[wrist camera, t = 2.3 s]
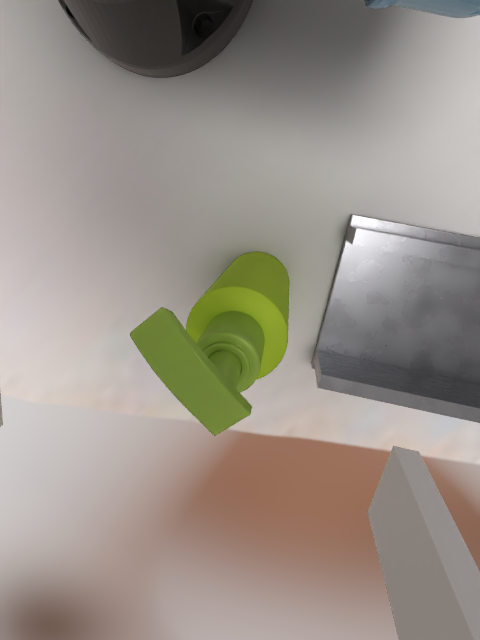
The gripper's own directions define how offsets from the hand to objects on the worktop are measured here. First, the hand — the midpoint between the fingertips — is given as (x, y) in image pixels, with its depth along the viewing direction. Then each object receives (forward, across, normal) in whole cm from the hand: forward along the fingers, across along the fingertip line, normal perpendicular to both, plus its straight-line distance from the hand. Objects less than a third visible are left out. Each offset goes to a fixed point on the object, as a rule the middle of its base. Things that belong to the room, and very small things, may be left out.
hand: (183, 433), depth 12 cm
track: (+22, +18, 0) cm, 29 cm away
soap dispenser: (+22, 0, 0) cm, 22 cm away
